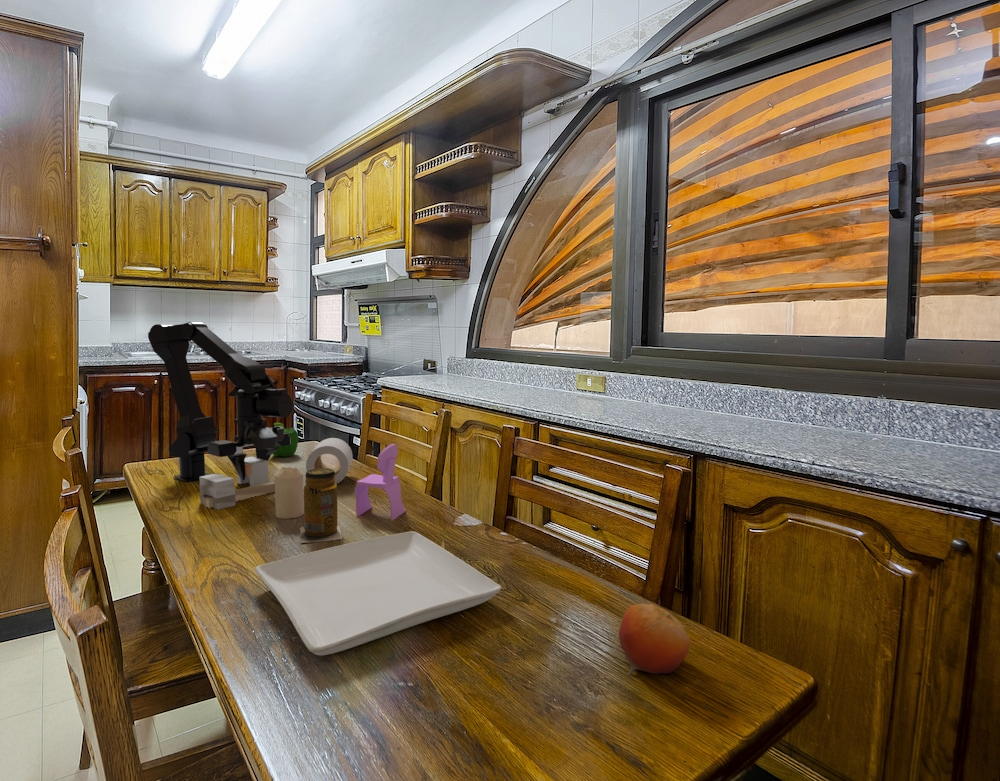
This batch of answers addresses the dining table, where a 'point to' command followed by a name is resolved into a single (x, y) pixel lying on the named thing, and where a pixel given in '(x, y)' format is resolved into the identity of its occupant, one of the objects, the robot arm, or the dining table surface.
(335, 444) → the toilet paper
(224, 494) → the grey block with bar
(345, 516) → the dining table surface
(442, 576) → the square plate
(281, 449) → the bell pepper
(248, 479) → the white block orange stripe
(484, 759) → the dining table surface
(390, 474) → the toy chair
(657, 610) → the fruit
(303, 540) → the condiment
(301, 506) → the candle
